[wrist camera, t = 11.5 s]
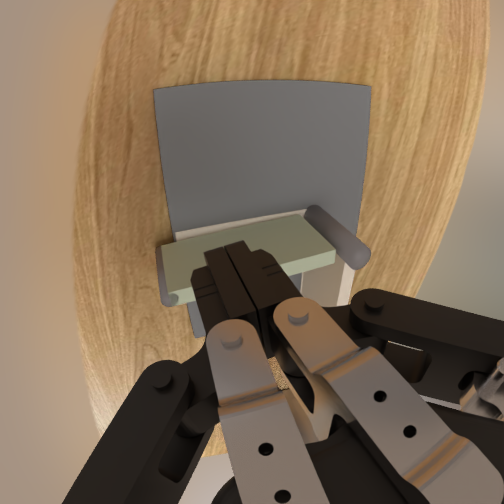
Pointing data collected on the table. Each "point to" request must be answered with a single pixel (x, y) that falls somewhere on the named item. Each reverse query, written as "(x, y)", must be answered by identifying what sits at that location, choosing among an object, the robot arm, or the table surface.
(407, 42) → the table surface
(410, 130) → the table surface
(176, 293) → the fence panel
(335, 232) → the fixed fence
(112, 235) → the table surface
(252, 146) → the mat
